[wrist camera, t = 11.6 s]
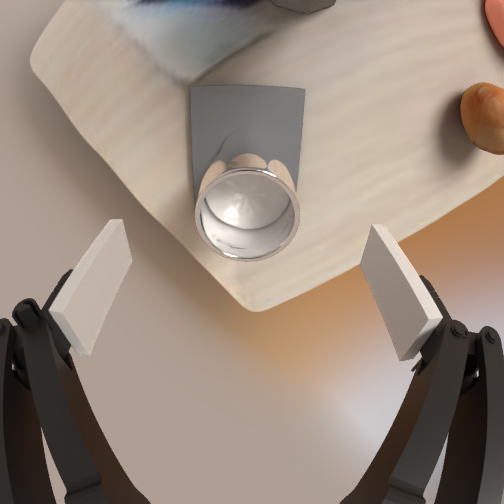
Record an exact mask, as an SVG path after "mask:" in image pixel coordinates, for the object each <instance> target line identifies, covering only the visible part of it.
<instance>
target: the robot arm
mask: <svg viewBox="0 0 504 504" xmlns="http://www.w3.org/2000/svg"><path fill="white" fill-rule="evenodd" d="M131 263H132V256H131V253H130V249H129V245H128V241H127V236H126V232H125V228H124V224H123V219H112V220H110V221H109V222H108V223H107V224H106V226H105V227H104V228H103V229H102V231H101V232H100V233H99V235H98V236H97V237H96V239H95V240H94V241H93V243H92V244H91V246H90V247H89V248H88V250H87V251H86V253H85V254H84V255H83V257H82V258H81V260H80V261H79V263H78V264H77V266H76V267H75V269H74V270H72V269H70V270H69V271H68V272H67V273H66V274H64V275H63V276H62V278H61V279H60V281H59V282H58V285H57V286H56V287H55V289H54V292H52V293H51V295H50V297H49V298H48V300H47V302H46V303H45V305H44V307H43V308H42V310H40V308H39V306H38V305H37V303H36V301H35V300H34V299H31V298H28V299H24V300H22V301H21V302H20V303H18V304H17V306H15V308H14V310H13V313H12V317H13V318H14V320H15V321H16V323H17V324H18V325H17V326H13V325H12V324H11V323H10V321H9V320H8V319H6V318H2V319H0V504H56V501H55V497H54V494H53V490H52V486H51V482H50V478H49V473H48V469H47V464H46V459H45V453H44V447H43V440H42V432H41V427H42V430H43V433H44V436H45V439H46V442H47V445H48V448H49V450H50V453H51V455H52V458H53V460H54V462H55V465H56V467H57V470H58V472H59V474H60V476H61V478H62V480H63V483H64V485H65V487H66V490H67V493H66V495H65V497H64V499H65V504H151V503H150V502H149V501H148V499H147V498H146V497H145V496H144V495H143V494H141V493H140V492H139V491H138V490H137V489H136V488H135V487H134V485H133V484H132V482H131V481H130V479H129V478H128V476H127V474H126V473H125V471H124V470H123V468H122V466H121V465H120V463H119V461H118V460H117V458H116V456H115V455H114V453H113V451H112V449H111V448H110V446H109V444H108V442H107V440H106V438H105V436H104V434H103V432H102V430H101V428H100V426H99V424H98V422H97V420H96V418H95V416H94V413H93V412H92V409H91V407H90V404H89V402H88V400H87V397H86V395H85V393H84V390H83V387H82V385H81V382H80V380H79V377H78V374H77V371H76V368H75V366H74V363H73V360H72V357H71V355H70V353H69V352H68V351H69V349H70V347H71V346H72V347H73V349H74V350H75V352H76V353H78V354H82V355H87V356H91V353H92V351H93V348H94V345H95V343H96V340H97V338H98V335H99V333H100V331H101V328H102V326H103V323H104V321H105V319H106V316H107V314H108V312H109V309H110V307H111V305H112V303H113V301H114V299H115V296H116V294H117V292H118V290H119V288H120V286H121V284H122V281H123V280H124V277H125V275H126V273H127V271H128V269H129V267H130V265H131ZM360 267H361V269H362V271H363V274H364V276H365V278H366V280H367V282H368V284H369V286H370V289H371V291H372V293H373V296H374V298H375V300H376V303H377V305H378V307H379V309H380V312H381V314H382V317H383V319H384V321H385V324H386V326H387V329H388V331H389V334H390V337H391V339H392V342H393V345H394V347H395V350H396V352H397V355H398V358H399V361H404V360H409V359H413V358H414V357H415V356H416V355H417V353H418V352H419V351H420V353H421V355H422V358H421V359H420V360H419V362H418V363H417V364H416V365H415V366H414V367H413V369H412V370H411V371H414V370H415V369H416V371H415V373H414V376H413V379H412V381H411V384H410V386H409V389H408V391H407V394H406V396H405V398H404V401H403V403H402V405H401V407H400V410H399V412H398V414H397V416H396V418H395V420H394V422H393V424H392V426H391V428H390V430H389V432H388V434H387V436H386V438H385V440H384V442H383V443H382V445H381V447H380V449H379V451H378V452H377V454H376V456H375V458H374V459H373V461H372V463H371V464H370V466H369V468H368V469H367V471H366V472H365V474H364V475H363V477H362V479H361V480H360V482H359V483H358V485H357V486H356V487H355V489H354V490H353V491H352V492H351V493H350V494H349V495H348V496H346V497H345V498H344V499H343V500H342V501H341V502H340V504H425V502H426V500H425V499H424V497H423V493H424V490H425V488H426V486H427V484H428V482H429V480H430V477H431V475H432V473H433V471H434V468H435V466H436V464H437V461H438V459H439V456H440V454H441V451H442V449H443V446H444V443H445V440H446V438H447V435H448V442H447V448H446V454H445V460H444V465H443V470H442V475H441V480H440V484H439V488H438V492H437V496H436V499H435V503H434V504H500V503H501V499H502V493H503V488H504V355H503V350H502V344H501V339H500V337H499V334H498V333H497V331H495V329H493V328H492V327H490V326H485V327H483V328H482V329H481V331H480V332H479V333H473V332H468V329H467V328H466V327H465V325H464V324H462V323H461V322H459V321H457V320H452V319H451V317H450V315H449V313H448V312H447V310H446V308H445V306H444V305H443V303H442V301H441V300H440V298H439V296H438V295H437V293H436V292H435V290H434V288H433V286H432V285H431V283H430V282H429V281H428V280H427V279H426V278H425V277H424V276H422V275H420V276H418V274H417V272H416V271H415V269H414V268H413V266H412V265H411V263H410V262H409V261H408V259H407V257H406V256H405V254H404V253H403V251H402V250H401V248H400V247H399V245H398V244H397V243H396V241H395V240H394V238H393V237H392V236H391V234H390V233H389V231H388V230H387V229H386V227H385V226H384V225H375V224H372V225H371V229H370V233H369V236H368V240H367V243H366V246H365V250H364V253H363V256H362V259H361V263H360ZM12 364H13V365H14V370H12ZM478 370H479V376H478V377H477V374H476V372H477V371H478ZM448 432H449V433H448Z"/></svg>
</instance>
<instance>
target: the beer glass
mask: <svg viewBox="0 0 504 504" xmlns="http://www.w3.org/2000/svg"><path fill="white" fill-rule="evenodd" d="M299 222H300V208H299V203H298V200H297V196H296V191H295V186H294V183H293V180H292V177H291V175H290V173H289V171H288V169H287V167H286V166H285V164H284V163H283V161H282V160H281V159H280V158H279V157H278V156H277V155H276V154H275V151H274V147H273V145H272V143H271V142H270V140H269V139H268V138H267V137H266V136H265V135H263V134H262V133H260V132H257V131H254V130H241V131H238V132H235V133H233V134H232V135H230V136H229V137H228V138H227V139H226V140H225V141H224V143H223V144H222V146H221V149H220V154H219V155H218V156H217V157H216V158H215V159H214V160H213V161H212V162H211V164H210V165H209V167H208V169H207V170H206V172H205V174H204V177H203V179H202V182H201V185H200V189H199V194H198V199H197V202H196V206H195V224H196V228H197V230H198V233H199V235H200V237H201V238H202V240H203V241H204V242H205V243H206V245H207V246H208V247H209V248H211V249H212V250H213V251H214V252H216V253H218V254H219V255H221V256H223V257H226V258H228V259H232V260H236V261H244V262H250V261H259V260H263V259H266V258H269V257H271V256H273V255H275V254H277V253H279V252H280V251H281V250H283V249H284V248H285V247H286V246H287V245H288V244H289V243H290V242H291V240H292V239H293V237H294V236H295V234H296V232H297V229H298V226H299Z"/></svg>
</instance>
